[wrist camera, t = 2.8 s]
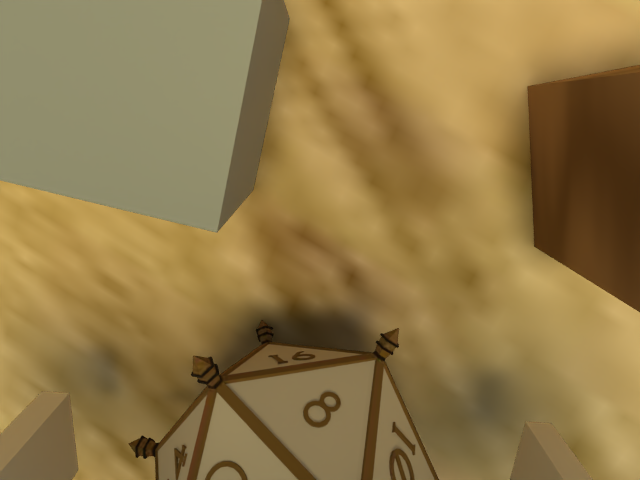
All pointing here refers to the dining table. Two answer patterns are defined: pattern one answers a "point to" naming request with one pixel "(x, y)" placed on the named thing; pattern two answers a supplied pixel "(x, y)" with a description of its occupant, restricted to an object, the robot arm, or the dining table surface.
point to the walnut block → (589, 177)
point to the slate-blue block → (139, 101)
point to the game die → (294, 419)
